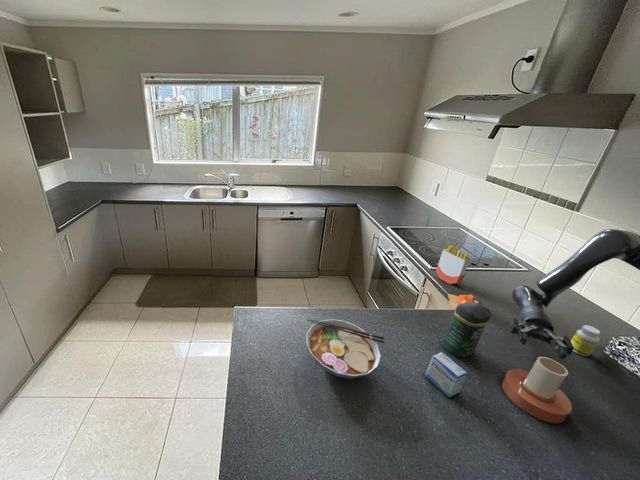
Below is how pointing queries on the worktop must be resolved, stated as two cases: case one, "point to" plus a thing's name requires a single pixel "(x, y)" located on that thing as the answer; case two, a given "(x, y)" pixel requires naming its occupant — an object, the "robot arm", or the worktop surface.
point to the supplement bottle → (585, 340)
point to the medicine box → (446, 374)
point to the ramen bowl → (343, 348)
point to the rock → (459, 300)
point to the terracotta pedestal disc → (535, 399)
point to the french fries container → (452, 265)
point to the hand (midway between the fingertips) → (543, 349)
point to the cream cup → (545, 377)
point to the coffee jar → (466, 328)
